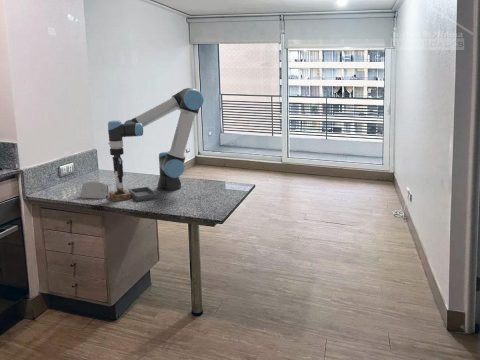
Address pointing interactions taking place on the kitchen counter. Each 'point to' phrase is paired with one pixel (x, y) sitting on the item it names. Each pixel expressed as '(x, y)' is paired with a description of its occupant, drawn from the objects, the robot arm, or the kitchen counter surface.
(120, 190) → the pin
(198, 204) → the kitchen counter surface
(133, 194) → the tray
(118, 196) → the holder
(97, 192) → the grey upright slab
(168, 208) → the kitchen counter surface
